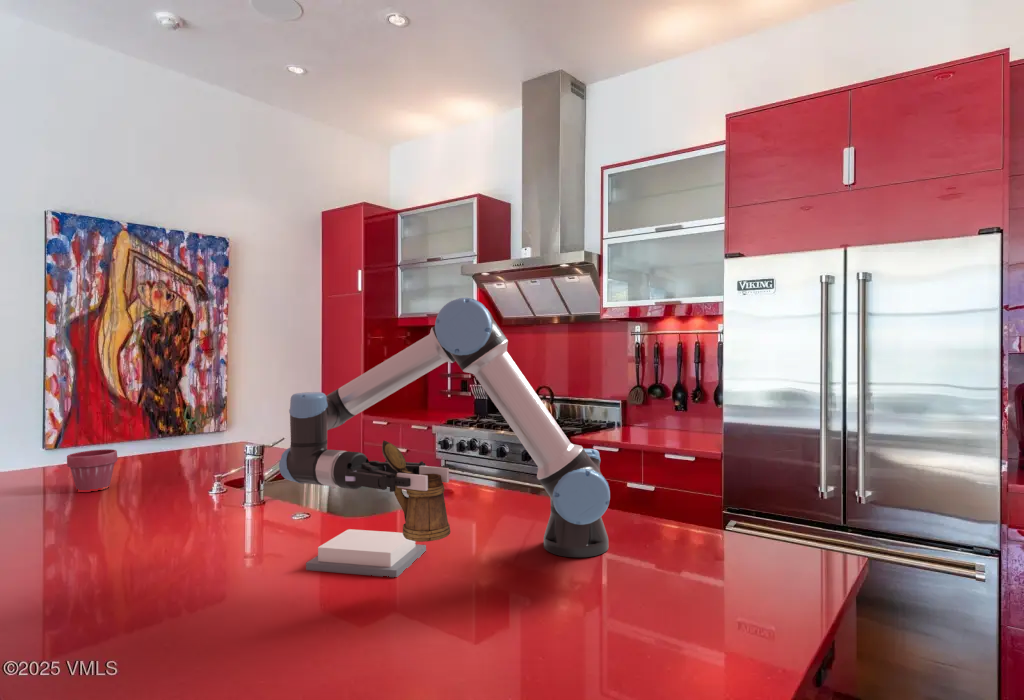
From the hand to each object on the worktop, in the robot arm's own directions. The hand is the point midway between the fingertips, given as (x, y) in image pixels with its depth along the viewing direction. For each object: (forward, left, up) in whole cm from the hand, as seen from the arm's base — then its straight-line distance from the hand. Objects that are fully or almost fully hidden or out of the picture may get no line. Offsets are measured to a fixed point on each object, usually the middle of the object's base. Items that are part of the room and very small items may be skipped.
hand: (437, 479), depth 114 cm
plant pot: (+148, -57, -22) cm, 160 cm away
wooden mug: (+5, -1, -11) cm, 12 cm away
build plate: (+22, -14, -22) cm, 34 cm away
